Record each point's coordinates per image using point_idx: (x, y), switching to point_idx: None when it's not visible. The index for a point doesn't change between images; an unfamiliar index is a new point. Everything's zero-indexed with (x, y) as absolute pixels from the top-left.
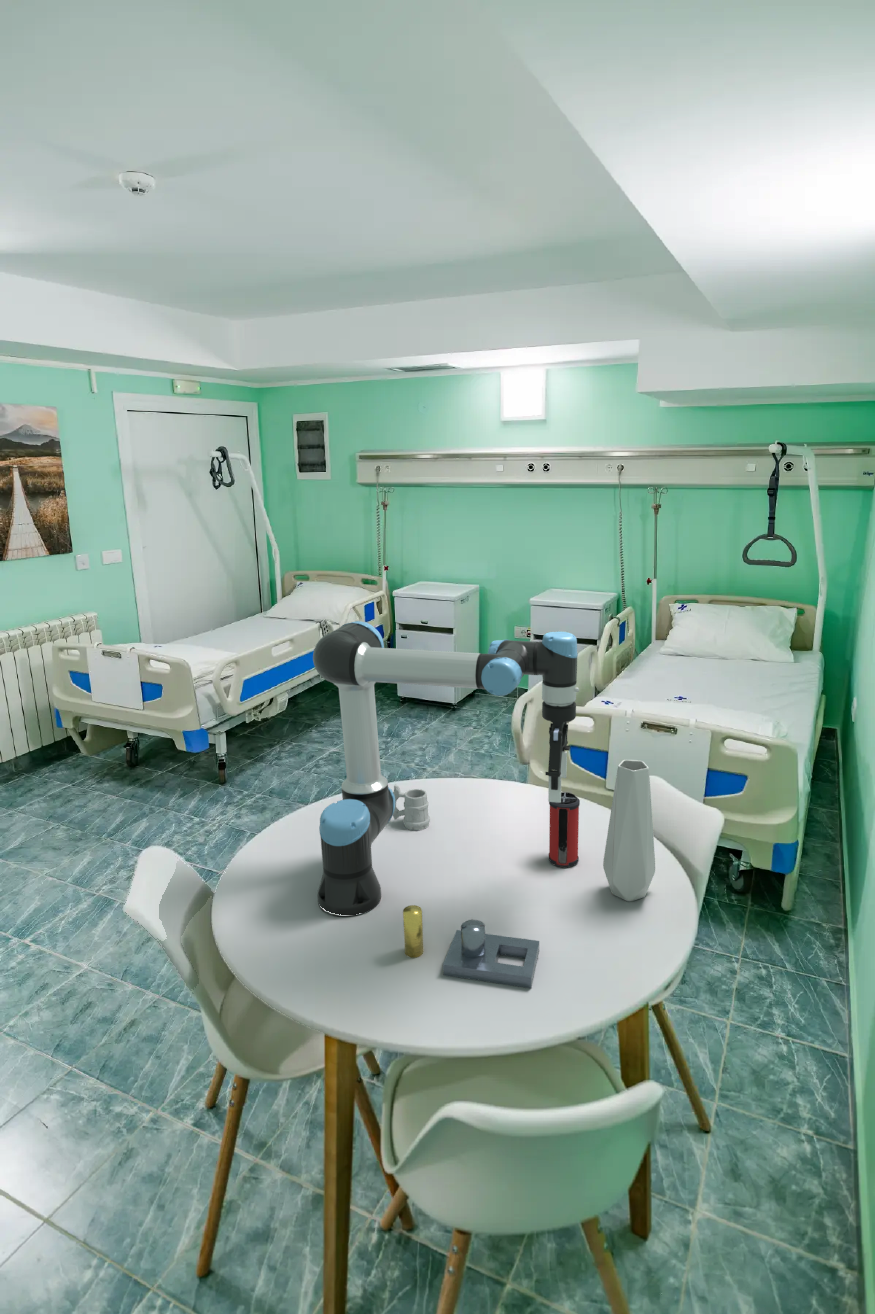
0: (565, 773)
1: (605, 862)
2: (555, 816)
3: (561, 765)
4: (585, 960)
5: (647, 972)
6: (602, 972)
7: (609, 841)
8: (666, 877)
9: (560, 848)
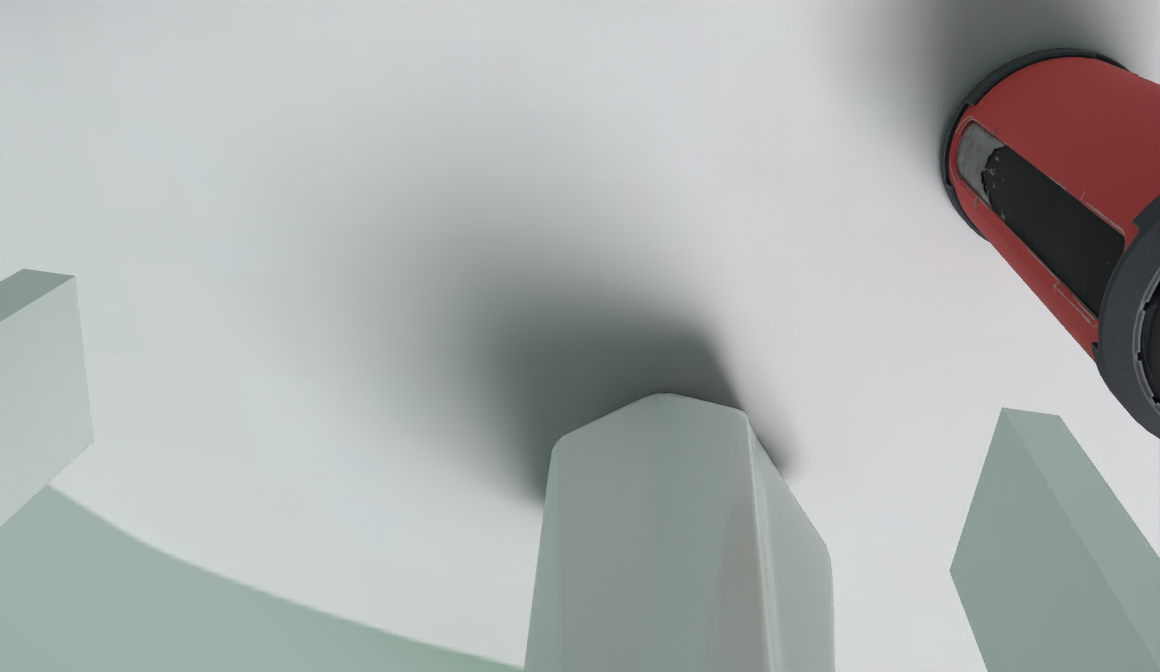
0: (972, 615)
1: (717, 440)
2: (1116, 184)
3: (1045, 661)
4: (80, 214)
5: None
6: None
7: (689, 552)
8: None
9: (998, 156)
